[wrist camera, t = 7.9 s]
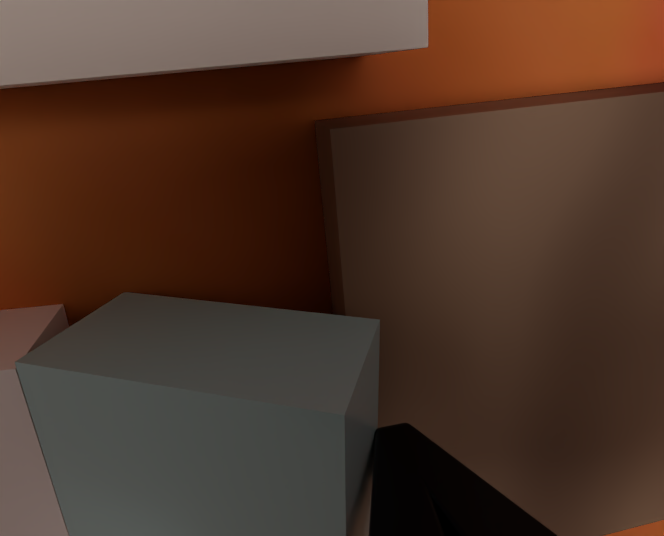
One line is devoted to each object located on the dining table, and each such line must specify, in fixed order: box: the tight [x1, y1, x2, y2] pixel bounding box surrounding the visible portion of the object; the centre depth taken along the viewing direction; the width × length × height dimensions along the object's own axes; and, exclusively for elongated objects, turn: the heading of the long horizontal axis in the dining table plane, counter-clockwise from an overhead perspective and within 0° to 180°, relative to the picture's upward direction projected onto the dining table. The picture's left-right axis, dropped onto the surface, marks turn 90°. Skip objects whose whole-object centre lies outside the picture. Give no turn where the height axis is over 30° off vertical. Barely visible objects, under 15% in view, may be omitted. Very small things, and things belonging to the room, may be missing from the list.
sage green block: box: [15, 292, 380, 536], centre depth 9 cm, size 5×5×2 cm
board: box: [315, 82, 664, 536], centre depth 11 cm, size 11×11×2 cm
